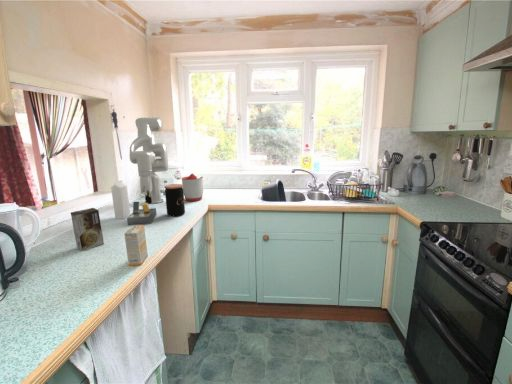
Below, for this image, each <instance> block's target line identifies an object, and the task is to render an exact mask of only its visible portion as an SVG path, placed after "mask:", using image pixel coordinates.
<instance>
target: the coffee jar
mask: <svg viewBox="0 0 512 384" xmlns="http://www.w3.org/2000/svg"><path fill="white" fill-rule="evenodd" d="M164 188H165V190H164V195H165V197H164V198H165V206H166V208H165V209H166V214H167V216H169V217H172V218H173V217H181V216H183V215H184V214H185V213H186V207H185V196H184V193H183V185H182V183H175V184H167V185H164Z"/></svg>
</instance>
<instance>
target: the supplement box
mask: <svg viewBox="0 0 512 384" xmlns="http://www.w3.org/2000/svg"><path fill="white" fill-rule="evenodd" d="M124 239H125V240H124V241H125V247H126V249H125V250H126V256H127V263H128V267H135V266H136V267H138V266H142V265H143V263H144V262H145V261H146V259H147V258H148V248H147V247H148V246H147V237H146V228H145V224H140V225H131V226H130V227H129V228H128V229H127V230H126V231H124Z"/></svg>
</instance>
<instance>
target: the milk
mask: <svg viewBox="0 0 512 384" xmlns="http://www.w3.org/2000/svg"><path fill="white" fill-rule="evenodd" d="M110 189H111V197H112V202H113V203H112V205H113V210H114V218H115V219H118V220H119V219H120V220H126V219H127V218H128V217H129V216H130V215H131V209H130V199H129V192H128V186H127V185H126V184H125V183H123V180H118V181H115V182H114V185H112V186H111V187H110Z"/></svg>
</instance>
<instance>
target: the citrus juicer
mask: <svg viewBox="0 0 512 384" xmlns="http://www.w3.org/2000/svg"><path fill="white" fill-rule="evenodd" d="M203 179H204V177H203V176H200V177H199V178H198V177H197V176H196V175H195V174H194V173H190V175H189V176H183V177H181V184H182V185H183V187H182V188H183V193H184V200H185V201H188V202H196V201H200V200H202V199H203V196H204V180H203Z"/></svg>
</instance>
